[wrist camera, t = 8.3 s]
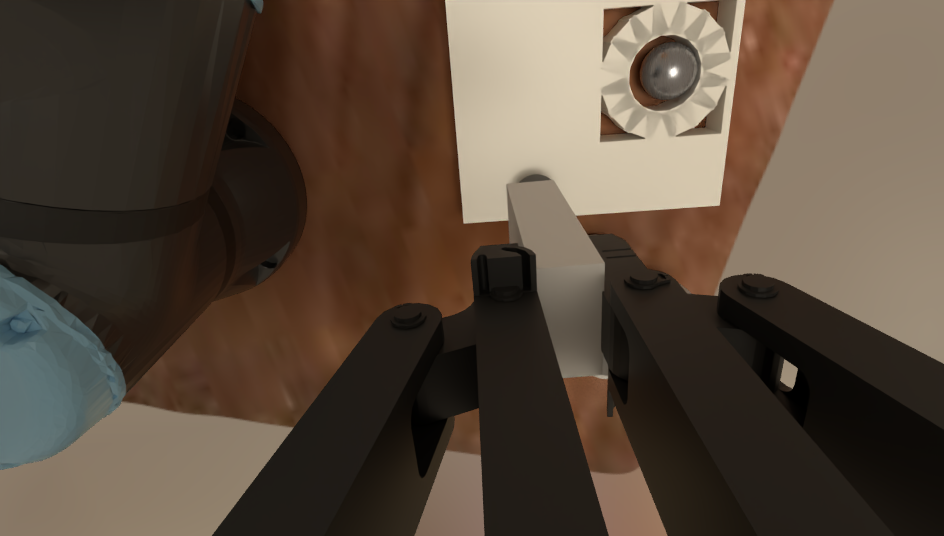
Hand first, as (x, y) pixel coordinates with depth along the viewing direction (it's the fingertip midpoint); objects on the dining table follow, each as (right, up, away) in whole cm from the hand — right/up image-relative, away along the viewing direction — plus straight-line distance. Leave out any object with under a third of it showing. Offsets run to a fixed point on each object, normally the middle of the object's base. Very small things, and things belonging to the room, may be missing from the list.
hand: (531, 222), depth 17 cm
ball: (+11, +11, +17) cm, 23 cm away
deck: (+6, +12, +18) cm, 23 cm away
